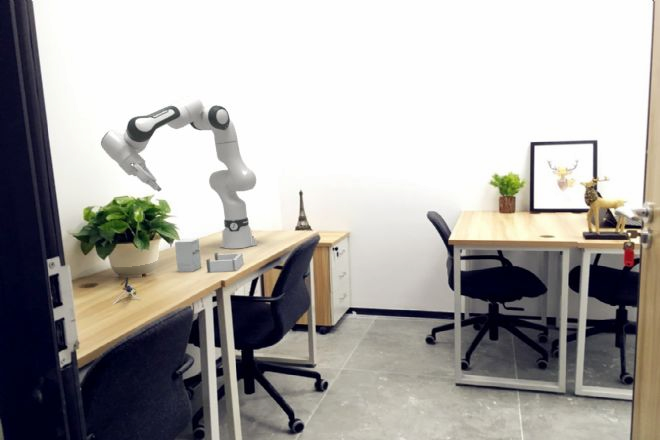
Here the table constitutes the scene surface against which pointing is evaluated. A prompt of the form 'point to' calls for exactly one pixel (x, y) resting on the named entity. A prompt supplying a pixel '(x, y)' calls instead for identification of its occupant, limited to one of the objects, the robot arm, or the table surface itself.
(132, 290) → the figurine
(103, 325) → the table surface
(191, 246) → the supplement box
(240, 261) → the tray
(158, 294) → the table surface
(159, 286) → the table surface
